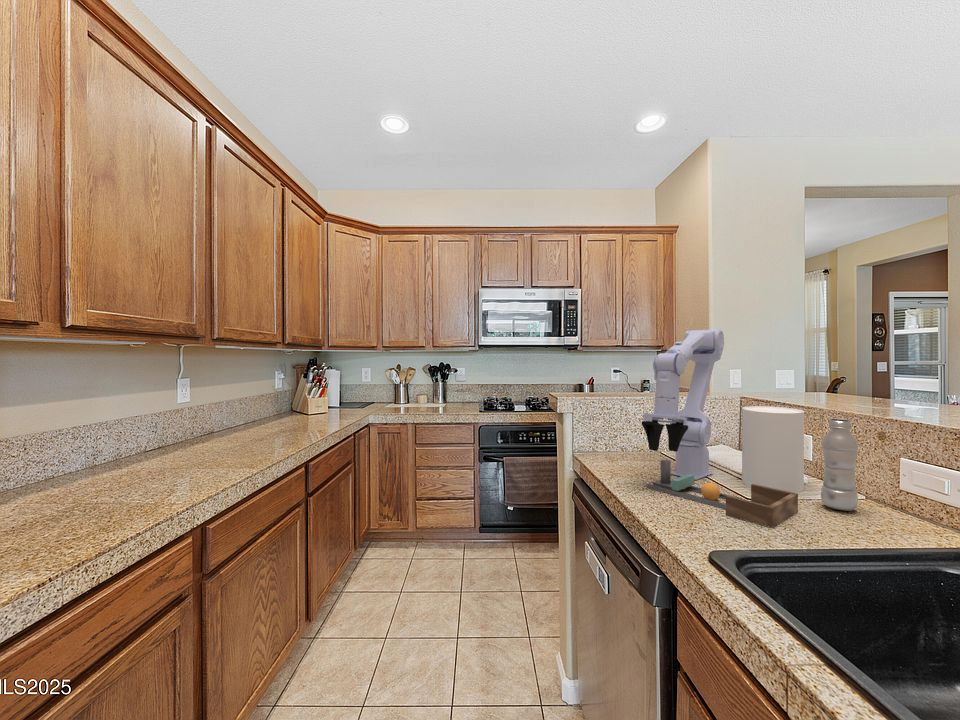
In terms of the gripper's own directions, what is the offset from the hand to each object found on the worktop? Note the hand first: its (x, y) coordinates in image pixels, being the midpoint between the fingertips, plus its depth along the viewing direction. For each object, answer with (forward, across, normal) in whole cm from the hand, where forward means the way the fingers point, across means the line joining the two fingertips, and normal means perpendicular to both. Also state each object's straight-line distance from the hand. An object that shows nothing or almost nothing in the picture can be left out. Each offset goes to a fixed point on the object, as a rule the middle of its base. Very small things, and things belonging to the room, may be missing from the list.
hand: (663, 450), depth 112 cm
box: (+10, +5, -21) cm, 24 cm away
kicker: (+10, +2, -1) cm, 10 cm away
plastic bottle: (+8, +22, -29) cm, 38 cm away
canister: (+6, +28, -12) cm, 31 cm away
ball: (+8, +4, -11) cm, 14 cm away
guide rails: (+10, +3, -6) cm, 12 cm away
